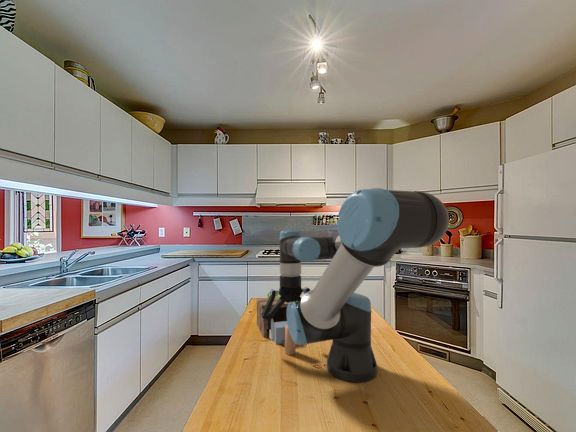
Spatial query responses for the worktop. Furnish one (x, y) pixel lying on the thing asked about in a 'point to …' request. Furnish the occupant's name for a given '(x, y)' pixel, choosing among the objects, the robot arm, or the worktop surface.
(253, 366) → the worktop surface
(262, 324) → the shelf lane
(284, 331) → the egg topped joystick
